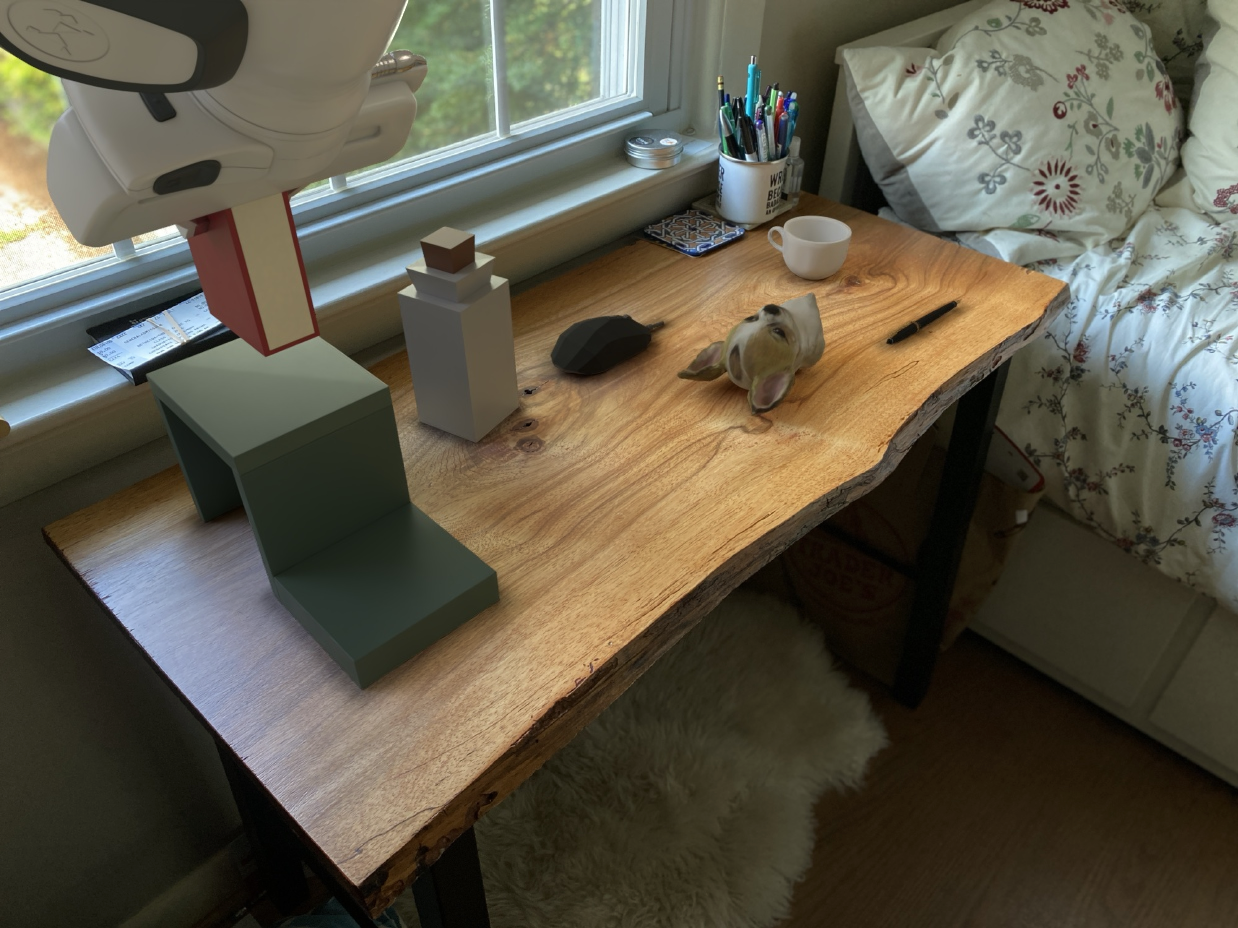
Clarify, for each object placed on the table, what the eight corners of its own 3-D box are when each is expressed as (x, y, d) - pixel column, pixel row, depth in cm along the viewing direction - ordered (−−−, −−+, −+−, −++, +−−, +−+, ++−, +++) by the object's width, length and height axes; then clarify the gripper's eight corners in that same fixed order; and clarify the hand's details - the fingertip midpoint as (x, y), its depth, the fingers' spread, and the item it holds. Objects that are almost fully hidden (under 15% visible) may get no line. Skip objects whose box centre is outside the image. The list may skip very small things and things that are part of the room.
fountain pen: (956, 302, 106) (959, 290, 105) (965, 306, 105) (968, 294, 104) (880, 346, 98) (882, 334, 97) (889, 351, 98) (892, 338, 97)
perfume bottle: (476, 443, 85) (454, 262, 74) (419, 421, 88) (389, 244, 77) (519, 406, 90) (504, 231, 79) (463, 386, 92) (441, 214, 81)
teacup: (854, 267, 113) (861, 225, 109) (829, 292, 108) (836, 249, 104) (779, 247, 117) (783, 206, 113) (751, 271, 112) (755, 229, 108)
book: (265, 358, 60) (205, 141, 51) (209, 314, 64) (145, 107, 56) (321, 336, 62) (272, 123, 53) (263, 294, 67) (209, 93, 58)
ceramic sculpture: (861, 296, 88) (762, 364, 81) (850, 371, 94) (757, 441, 86) (771, 261, 94) (671, 321, 87) (767, 334, 100) (672, 396, 92)
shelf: (361, 690, 63) (320, 540, 55) (198, 515, 77) (145, 374, 69) (500, 599, 70) (483, 452, 61) (326, 454, 84) (292, 317, 75)
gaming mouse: (683, 335, 100) (685, 302, 98) (578, 387, 92) (577, 352, 90) (643, 313, 104) (643, 281, 101) (538, 361, 96) (536, 328, 94)
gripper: (408, -2, 53) (348, 129, 64) (23, 72, 42) (34, 215, 53) (464, 96, 53) (394, 210, 65) (97, 196, 42) (92, 312, 53)
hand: (229, 213), depth 59 cm, fingers closed on book, 4 cm apart
